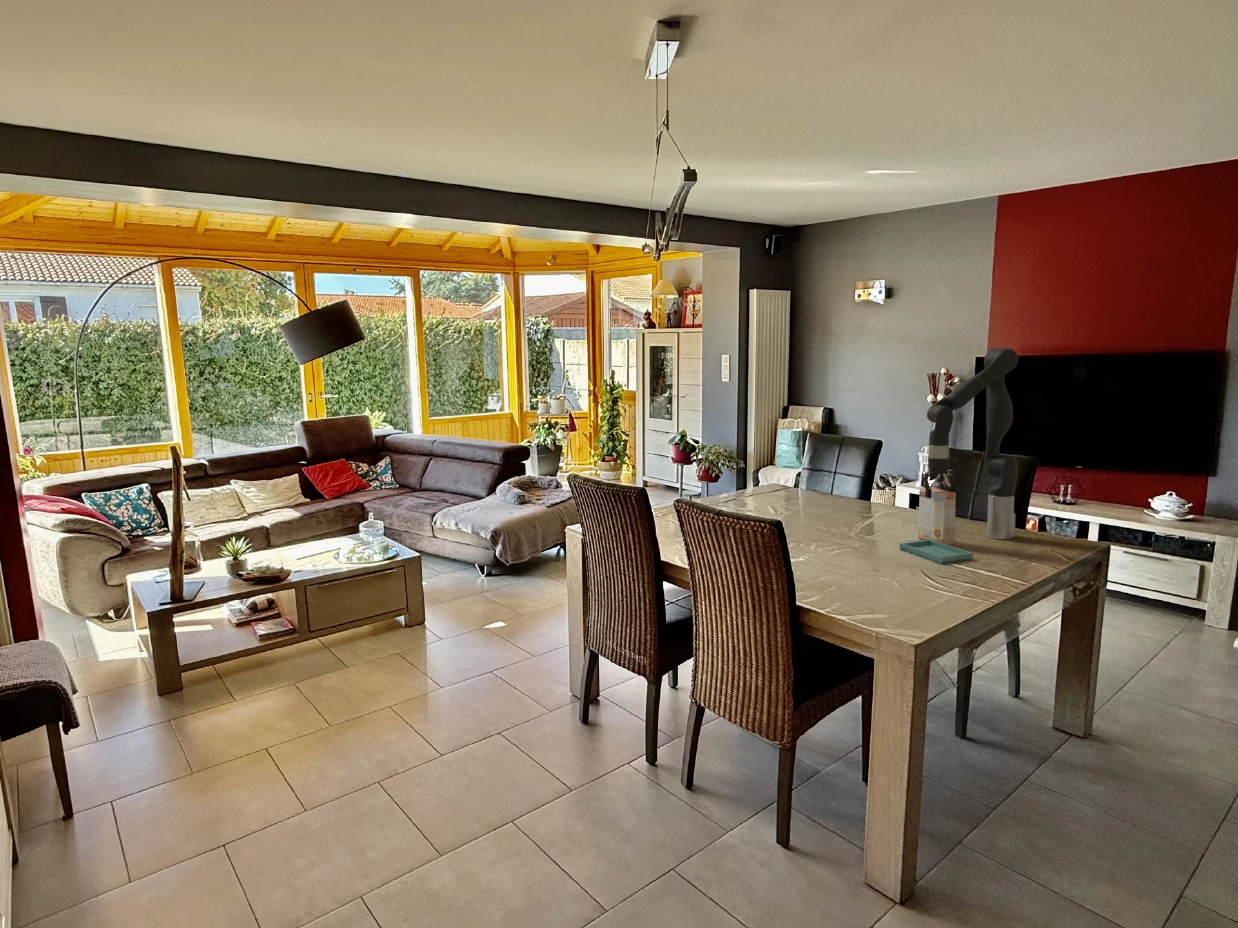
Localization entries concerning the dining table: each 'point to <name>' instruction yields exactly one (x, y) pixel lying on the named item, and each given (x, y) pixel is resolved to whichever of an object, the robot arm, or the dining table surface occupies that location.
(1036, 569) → the dining table surface
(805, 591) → the dining table surface
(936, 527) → the cracker box
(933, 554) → the teal tray
